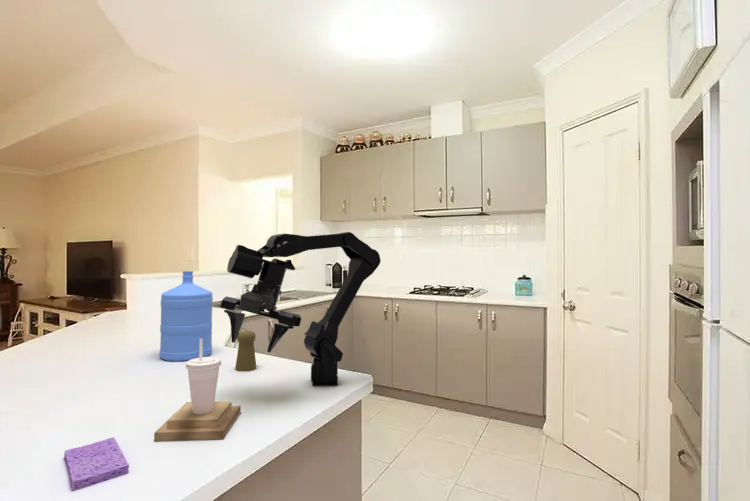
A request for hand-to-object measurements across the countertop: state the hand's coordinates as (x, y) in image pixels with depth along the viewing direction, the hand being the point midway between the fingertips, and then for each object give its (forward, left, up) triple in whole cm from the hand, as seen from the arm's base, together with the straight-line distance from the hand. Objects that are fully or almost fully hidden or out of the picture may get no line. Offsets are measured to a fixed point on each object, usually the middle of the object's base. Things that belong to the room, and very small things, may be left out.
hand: (250, 347), depth 92 cm
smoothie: (+5, +16, -9) cm, 19 cm away
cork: (+7, -24, -12) cm, 27 cm away
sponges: (+17, +29, -12) cm, 36 cm away
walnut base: (+6, +15, -12) cm, 20 cm away
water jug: (+30, -40, -12) cm, 51 cm away
